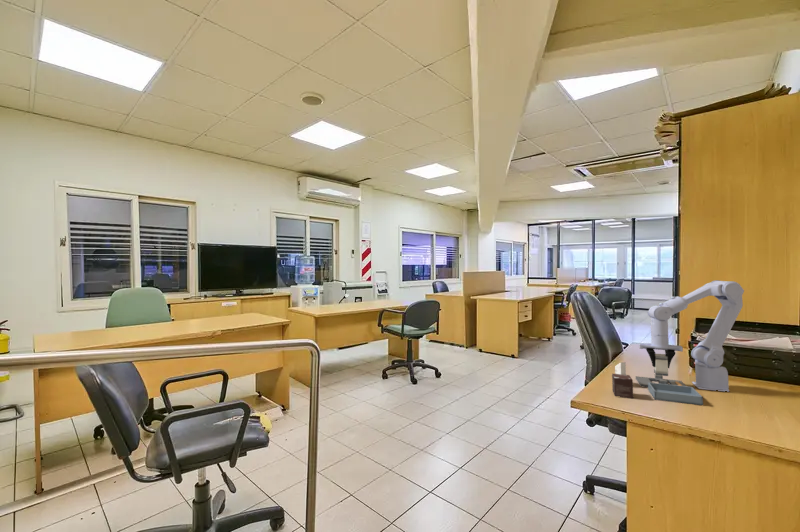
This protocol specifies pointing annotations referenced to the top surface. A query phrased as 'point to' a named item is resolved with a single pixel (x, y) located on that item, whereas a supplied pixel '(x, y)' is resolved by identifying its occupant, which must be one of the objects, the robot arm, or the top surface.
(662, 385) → the tray
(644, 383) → the frame
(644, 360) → the top surface
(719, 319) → the robot arm
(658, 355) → the tan rectangular block
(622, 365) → the white wedge bracket
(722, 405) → the top surface
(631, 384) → the box
